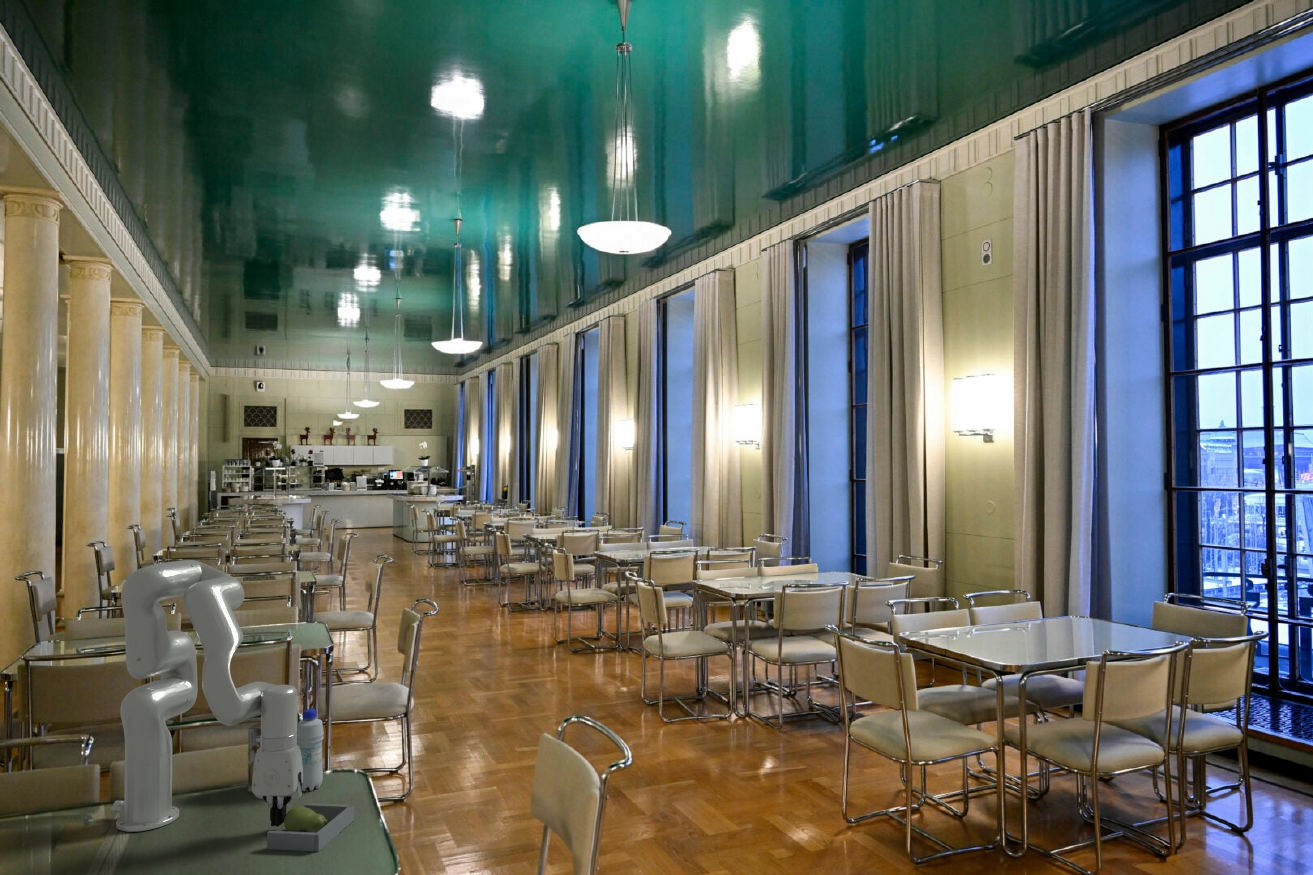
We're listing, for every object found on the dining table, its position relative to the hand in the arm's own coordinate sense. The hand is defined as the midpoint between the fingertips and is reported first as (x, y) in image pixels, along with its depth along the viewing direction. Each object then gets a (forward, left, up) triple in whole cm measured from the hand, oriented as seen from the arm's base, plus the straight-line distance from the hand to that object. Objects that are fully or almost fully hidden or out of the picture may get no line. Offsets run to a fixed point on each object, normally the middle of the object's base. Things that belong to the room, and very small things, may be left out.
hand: (278, 823), depth 191 cm
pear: (+7, 0, -2) cm, 7 cm away
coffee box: (-16, +24, -2) cm, 29 cm away
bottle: (-6, +25, -2) cm, 26 cm away
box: (+9, -1, -2) cm, 9 cm away
